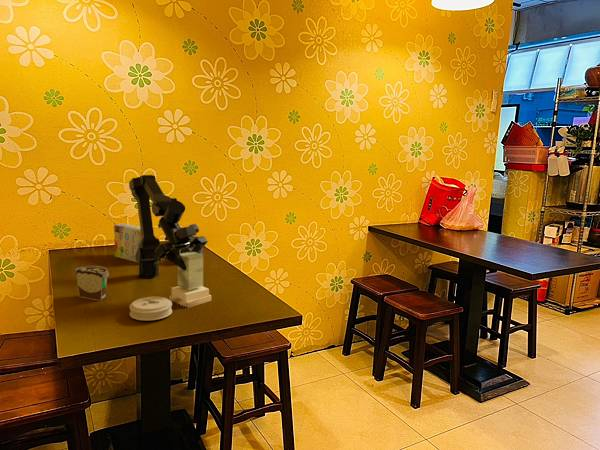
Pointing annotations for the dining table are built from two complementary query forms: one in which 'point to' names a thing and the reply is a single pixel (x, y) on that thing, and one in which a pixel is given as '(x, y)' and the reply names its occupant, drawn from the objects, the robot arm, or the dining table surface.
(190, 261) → the pillar block
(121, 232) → the snack box
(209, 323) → the dining table surface
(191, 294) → the tower top slab
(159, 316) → the lid
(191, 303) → the tower base slab
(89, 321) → the dining table surface
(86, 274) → the food container
